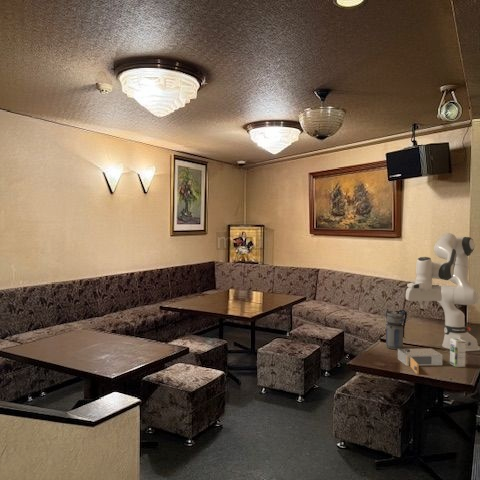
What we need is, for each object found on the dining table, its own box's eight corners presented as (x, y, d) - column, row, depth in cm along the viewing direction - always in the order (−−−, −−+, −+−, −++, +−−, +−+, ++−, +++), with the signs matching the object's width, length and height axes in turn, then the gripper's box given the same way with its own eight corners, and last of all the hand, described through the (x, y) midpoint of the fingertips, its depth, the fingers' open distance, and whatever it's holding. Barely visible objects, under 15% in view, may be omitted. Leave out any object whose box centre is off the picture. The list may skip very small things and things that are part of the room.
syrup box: (449, 363, 228) (449, 338, 227) (459, 363, 228) (459, 337, 228) (455, 367, 222) (455, 340, 222) (465, 366, 223) (466, 340, 222)
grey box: (429, 357, 239) (429, 346, 239) (442, 365, 225) (442, 353, 225) (396, 357, 238) (396, 346, 238) (406, 365, 224) (406, 354, 224)
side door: (418, 374, 211) (418, 364, 211) (414, 374, 211) (415, 363, 211) (411, 366, 224) (411, 356, 224) (408, 365, 224) (408, 356, 224)
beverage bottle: (409, 350, 253) (409, 310, 252) (387, 350, 254) (387, 310, 253) (403, 346, 263) (404, 307, 263) (382, 345, 264) (383, 307, 264)
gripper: (438, 284, 241) (438, 307, 242) (404, 284, 241) (404, 307, 241) (444, 285, 235) (443, 309, 235) (409, 285, 234) (409, 309, 235)
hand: (423, 308), depth 238 cm, fingers closed
